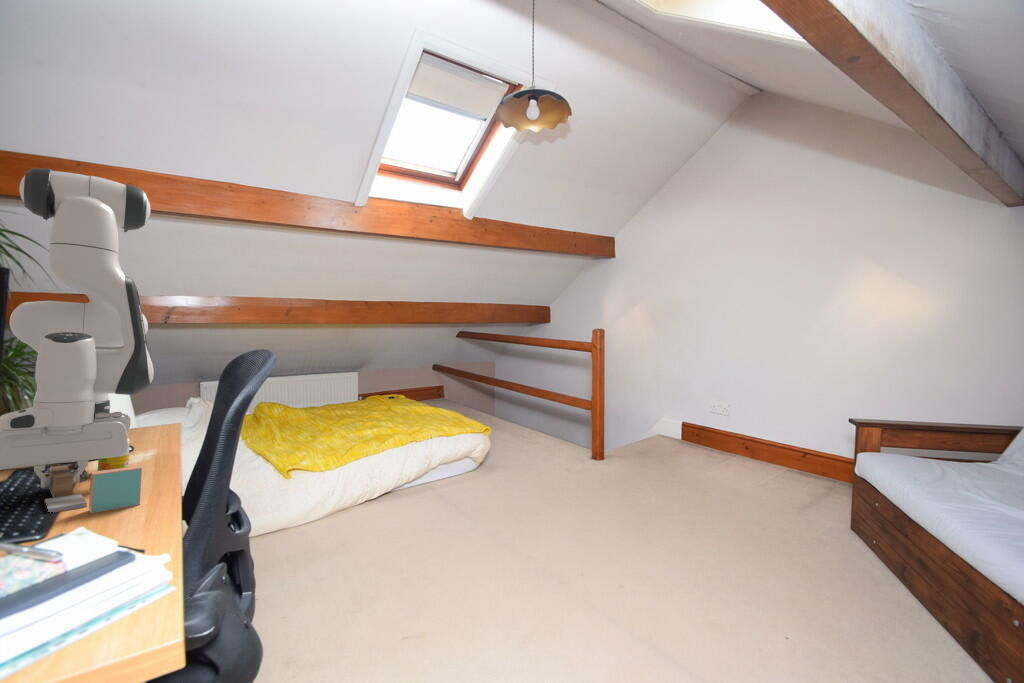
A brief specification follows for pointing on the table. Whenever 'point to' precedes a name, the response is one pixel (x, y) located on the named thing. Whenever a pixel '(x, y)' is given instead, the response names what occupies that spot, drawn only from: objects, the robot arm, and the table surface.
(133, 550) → the table surface
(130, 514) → the table surface
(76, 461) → the wooden post with brackets
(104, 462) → the supplement bottle
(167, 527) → the table surface
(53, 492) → the brown bar with plate
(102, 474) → the tile
